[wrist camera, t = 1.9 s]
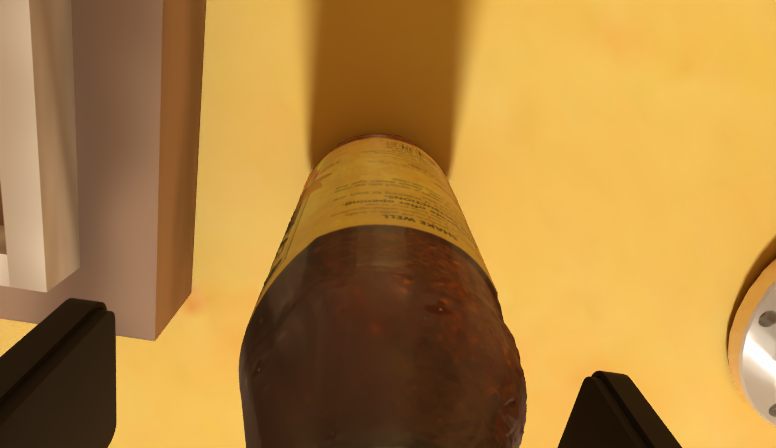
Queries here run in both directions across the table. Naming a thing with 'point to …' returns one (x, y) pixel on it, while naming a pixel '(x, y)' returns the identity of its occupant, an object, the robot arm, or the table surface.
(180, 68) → the condiment stand
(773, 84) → the table surface
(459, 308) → the sauce bottle
